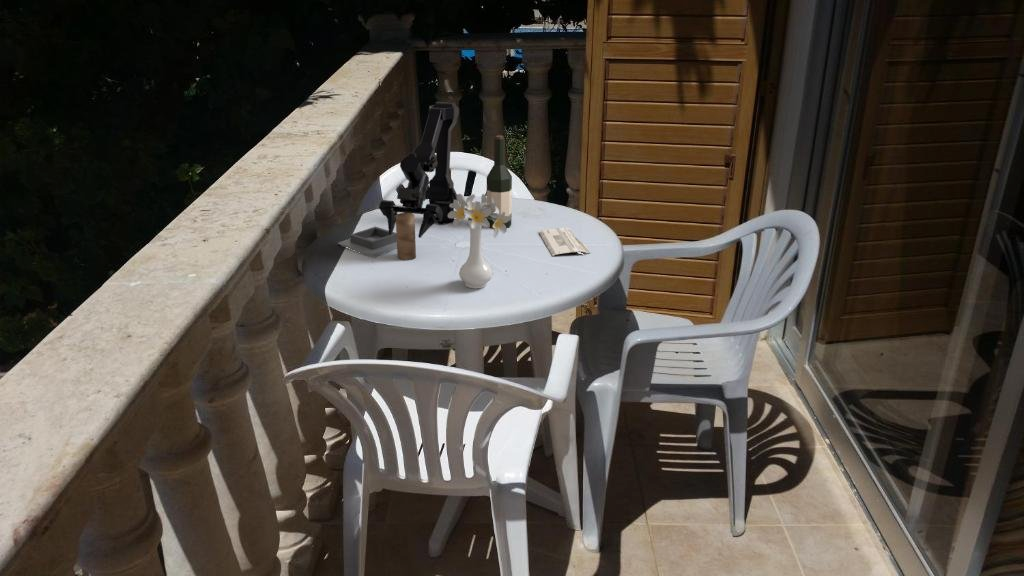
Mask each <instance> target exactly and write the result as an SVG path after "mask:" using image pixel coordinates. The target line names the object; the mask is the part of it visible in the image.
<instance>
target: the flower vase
mask: <svg viewBox="0 0 1024 576" xmlns="http://www.w3.org/2000/svg"><path fill="white" fill-rule="evenodd" d="M456 194H457V193H456ZM475 197H476V195H475V193H474V194H471V195H469V196H468V197H467V198H466V197H465V196H464V195H463V194H461V193H458V194H457V200H454V202H453V203H452V204H450V205H449V206H450V207H451V208H454V211H451V212H450V213H449V214H448V218H454V219H455V220H454V221H453V222H452V227H453V228H455V227H456V226H457V225H458V224H459V222H461V221H464V220H465V218H466V217H467V220H466V221H467V223H468V229H469V234H470V235H469V236H470V237H469V238H470V240H469V254H468V257H467V259H466V261H465V262H464V263H463V264H462V265H461V267H460V268H459V271H458V275H459V279H460V280H461V281H462V282H464V285H465V287H466V288H470V289H475V290H476V289H477V290H478V289H483V288H485V287H487V286H488V283H489V282H490V281H491V279H492V277H493V276H494V272H493V268H492V267H491V265H490V264H489V263H488V262H487V261H486V259H485V258H484V255H483V247H482V244H483V243H482V231H483V230H482V228H483V227H484V228H490V227H489V226H490V223H489V222H488V220H487V219H491V220H493V221H494V224H493V226H492V227H493V228H494V229H493V239H496V238H497V237H498V234H499V232H501V233H502V234H506V232H507V229H508V228H506V226H505V225H504V224H503V223H506V222H508V221H509V220H510V219H511V220H512V217H513V216H512V215H511V216H507V217H504V216H505V212H503V213H502V214H501V215H500V216H499V215H498V214H499V210H498V208H497V207H496V205H497V204H496V202H493V199H492V201H491V202H489V203H487V195H486V194H484V193H482V194H481V198H480V199H481V200H480V201H478V200H475V201H474V199H475ZM473 201H474V202H473ZM488 216H491V217H493V218H495V219H496V220H494V219H493V218H490V217H488Z"/></svg>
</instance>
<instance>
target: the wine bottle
mask: <svg viewBox="0 0 1024 576" xmlns="http://www.w3.org/2000/svg"><path fill="white" fill-rule="evenodd" d="M505 141H506V140H505V137H504V135H502V134H501V135H500V134H498V135H495V138H493V144H494V145H493V150H494V151H493V152H494V153H493V166H492V167H491V169H490V171H489V172H488V174H487V176H486V198H487V203H489V202H491V201H492V199H493V202H496V204H497V205H496V207H497V208H498V210H499V214H498V215H499V216H500V215H501V214H502V213H503V212H505V216H504V217H507V216H512V213H513V212H512V211H513V210H512V209H513V207H512V202H513V201H512V198H513V195H512V193H513V192H512V191H513V190H512V189H513V187H512V186H513V176H512V174H511V172H510V171H509V170H508V167H507V166H506V164H505V163H506V161H505V158H506V157H505V150H506V149H505V147H506V146H505V144H506V143H505ZM487 203H486V204H487ZM488 217H490V218H493V217H491V216H488ZM493 219H494V220H496V219H495V218H493ZM487 220H488V222H489V223H490V226H489V227H488V228H490V229H492V230H494V228H493V227H492V226H493V224H494V221H493V220H491V219H487ZM503 224H504V225H505V226H506V228H507V229H510V227H511V226H512V218H511V219H510V220H509V221H508V222H506V223H503Z"/></svg>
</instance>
